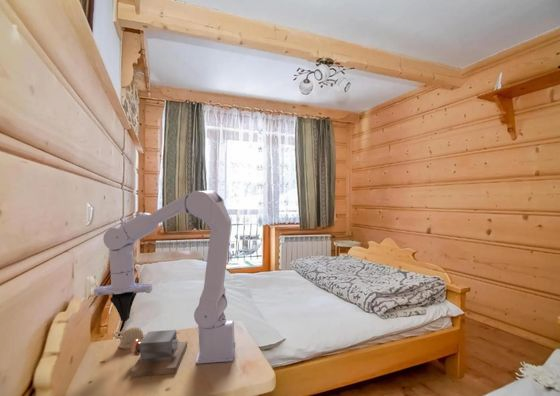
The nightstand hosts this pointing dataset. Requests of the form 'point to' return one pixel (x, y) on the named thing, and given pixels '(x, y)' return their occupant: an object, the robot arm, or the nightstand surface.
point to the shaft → (136, 346)
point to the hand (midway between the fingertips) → (125, 319)
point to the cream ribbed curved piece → (129, 336)
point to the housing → (159, 354)
